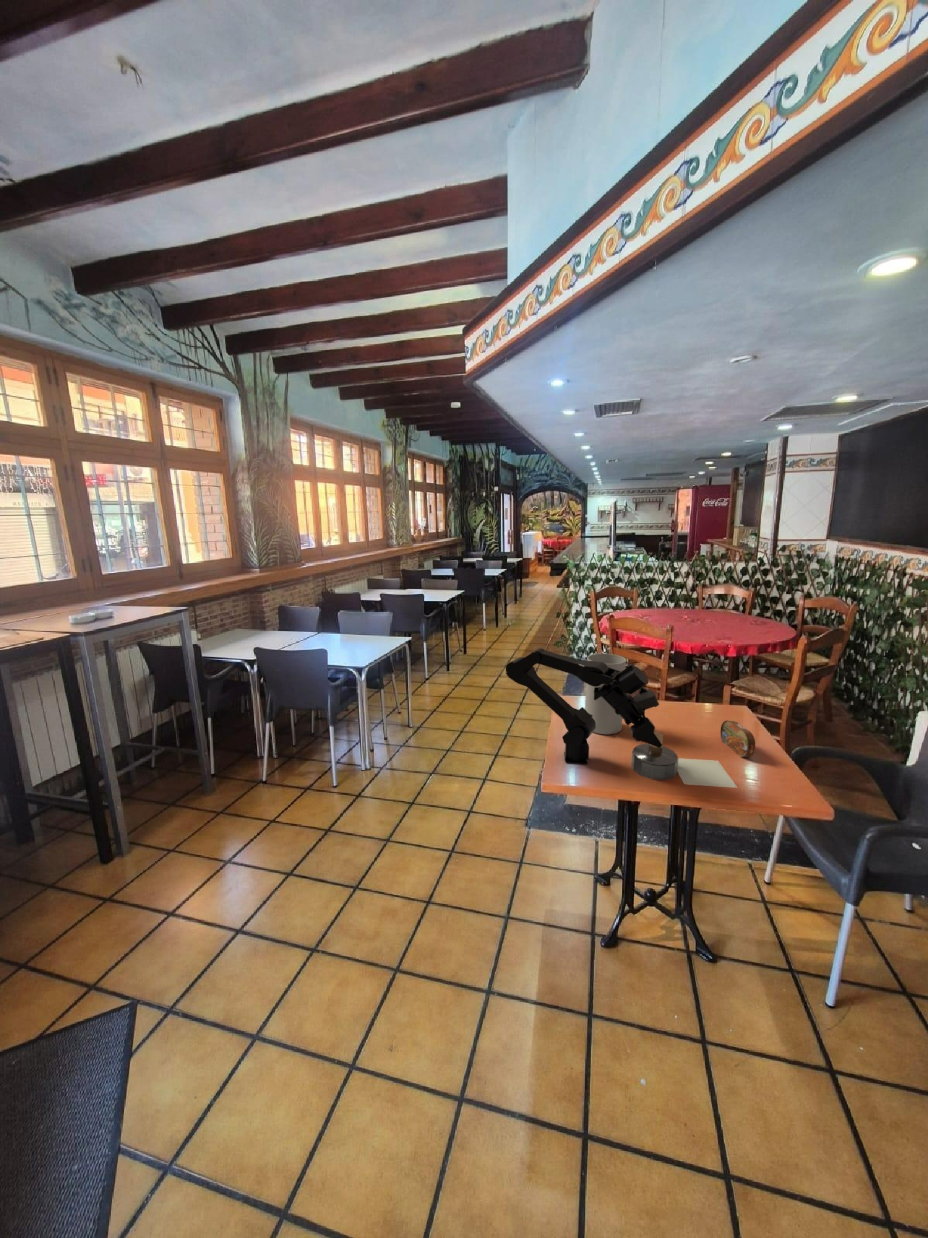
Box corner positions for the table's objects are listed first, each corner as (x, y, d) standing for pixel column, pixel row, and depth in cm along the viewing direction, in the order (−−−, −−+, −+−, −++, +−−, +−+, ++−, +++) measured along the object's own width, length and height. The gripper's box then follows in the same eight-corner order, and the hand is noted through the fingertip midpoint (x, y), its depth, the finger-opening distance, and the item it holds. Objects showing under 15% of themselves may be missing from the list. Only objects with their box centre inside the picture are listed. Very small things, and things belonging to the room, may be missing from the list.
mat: (684, 785, 134) (684, 784, 134) (669, 759, 148) (670, 757, 148) (737, 789, 132) (737, 787, 132) (717, 762, 146) (717, 760, 146)
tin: (718, 740, 161) (721, 716, 159) (728, 739, 161) (730, 715, 159) (744, 762, 146) (747, 736, 144) (755, 762, 146) (758, 736, 144)
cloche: (636, 779, 137) (638, 742, 135) (628, 758, 149) (630, 724, 146) (681, 782, 135) (684, 745, 133) (670, 761, 147) (673, 726, 145)
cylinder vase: (617, 721, 176) (621, 653, 171) (625, 736, 164) (629, 664, 159) (582, 719, 177) (585, 653, 172) (587, 734, 165) (590, 663, 160)
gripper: (649, 694, 128) (689, 736, 129) (635, 672, 146) (670, 708, 147) (616, 720, 131) (656, 761, 132) (606, 695, 149) (641, 731, 150)
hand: (656, 739), depth 140 cm, fingers open, 9 cm apart
